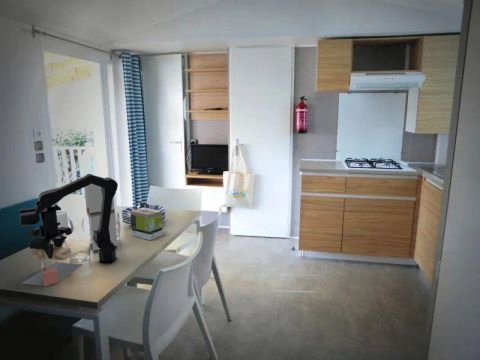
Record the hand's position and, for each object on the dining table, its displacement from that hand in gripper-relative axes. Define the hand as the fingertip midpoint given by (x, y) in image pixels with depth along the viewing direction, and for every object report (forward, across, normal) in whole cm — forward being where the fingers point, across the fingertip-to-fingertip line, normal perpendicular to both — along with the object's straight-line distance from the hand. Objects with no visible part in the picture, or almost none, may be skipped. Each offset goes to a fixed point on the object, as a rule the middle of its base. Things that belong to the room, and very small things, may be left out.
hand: (54, 256), depth 146 cm
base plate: (+8, +1, -1) cm, 8 cm away
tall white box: (+8, -29, +4) cm, 31 cm away
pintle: (+8, 0, -6) cm, 10 cm away
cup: (+8, -35, -25) cm, 44 cm away
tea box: (+9, -50, +18) cm, 54 cm away
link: (0, 0, -1) cm, 1 cm away
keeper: (+8, +8, +4) cm, 12 cm away
